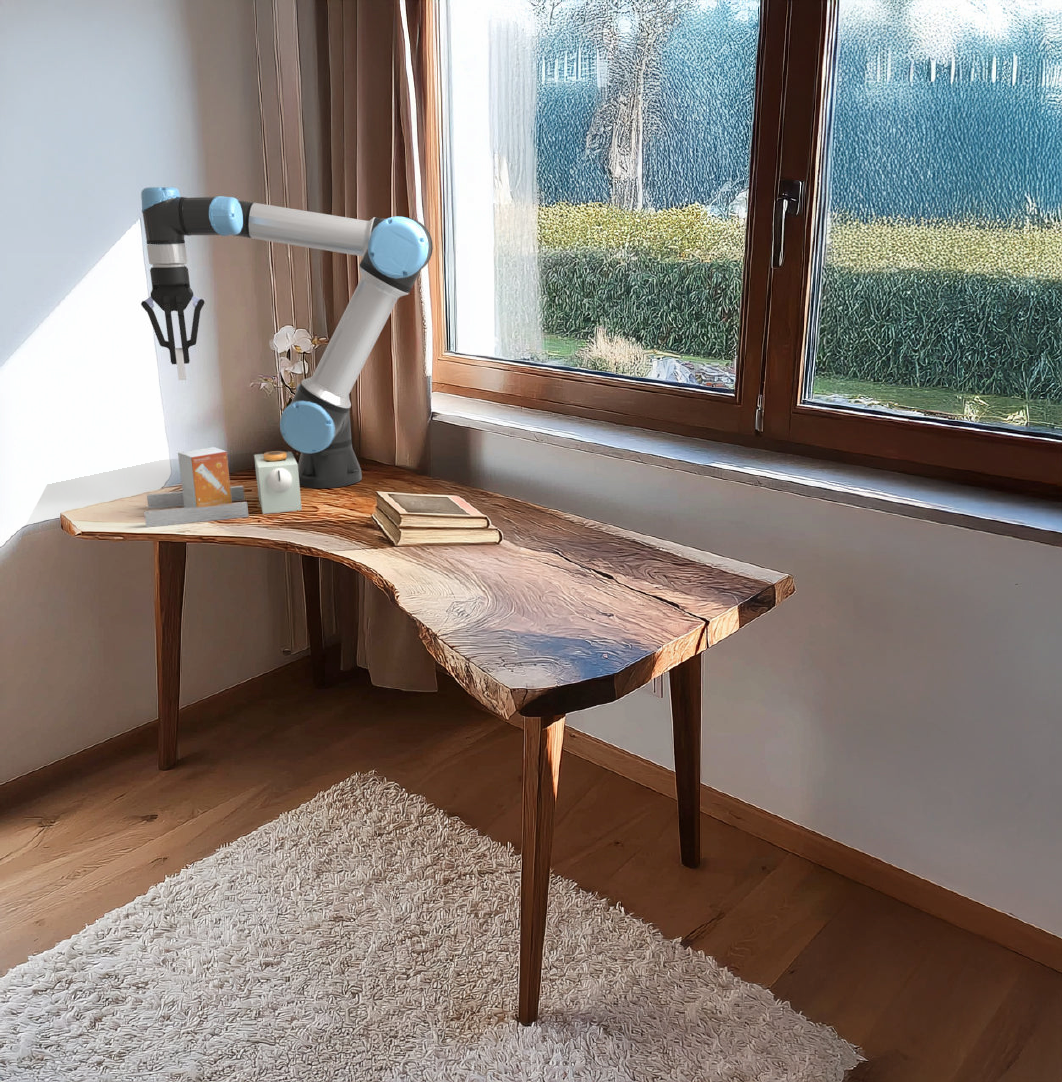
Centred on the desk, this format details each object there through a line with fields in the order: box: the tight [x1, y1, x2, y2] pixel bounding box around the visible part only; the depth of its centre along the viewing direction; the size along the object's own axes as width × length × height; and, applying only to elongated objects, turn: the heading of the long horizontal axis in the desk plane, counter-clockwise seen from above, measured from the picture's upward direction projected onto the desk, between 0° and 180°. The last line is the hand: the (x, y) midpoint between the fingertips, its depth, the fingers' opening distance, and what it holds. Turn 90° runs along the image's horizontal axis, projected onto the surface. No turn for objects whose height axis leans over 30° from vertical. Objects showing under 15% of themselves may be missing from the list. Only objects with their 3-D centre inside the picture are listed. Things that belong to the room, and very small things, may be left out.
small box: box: [177, 446, 233, 508], centre depth 207 cm, size 8×6×13 cm
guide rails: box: [143, 485, 249, 528], centre depth 208 cm, size 20×15×3 cm
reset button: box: [262, 450, 287, 462], centre depth 211 cm, size 5×5×6 cm
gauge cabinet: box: [253, 451, 303, 515], centre depth 212 cm, size 8×14×10 cm, turn 19°
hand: (182, 379), depth 212 cm, fingers closed
